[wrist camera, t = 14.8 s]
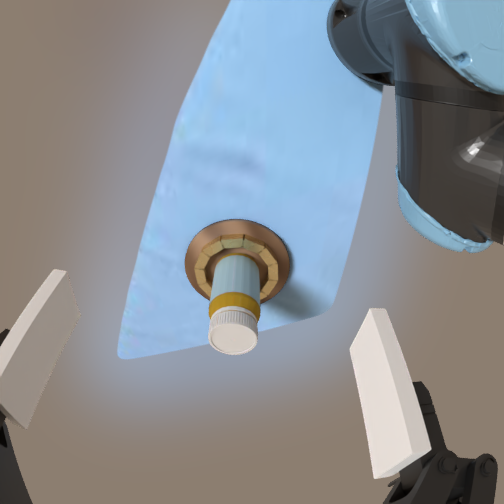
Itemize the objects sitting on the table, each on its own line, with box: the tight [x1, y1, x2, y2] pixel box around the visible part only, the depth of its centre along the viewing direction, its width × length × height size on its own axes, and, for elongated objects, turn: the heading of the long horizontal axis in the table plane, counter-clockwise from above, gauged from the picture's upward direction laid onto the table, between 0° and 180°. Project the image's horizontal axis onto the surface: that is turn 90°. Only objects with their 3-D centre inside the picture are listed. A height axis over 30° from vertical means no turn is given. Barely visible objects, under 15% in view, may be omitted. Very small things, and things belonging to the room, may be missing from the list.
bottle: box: [208, 253, 260, 355], centre depth 44 cm, size 7×7×15 cm
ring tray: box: [185, 219, 290, 304], centre depth 50 cm, size 17×17×2 cm
